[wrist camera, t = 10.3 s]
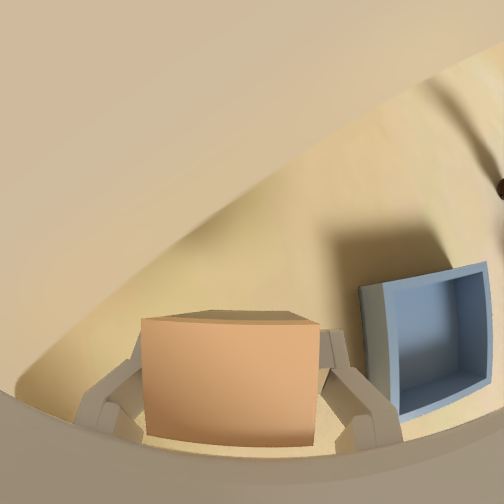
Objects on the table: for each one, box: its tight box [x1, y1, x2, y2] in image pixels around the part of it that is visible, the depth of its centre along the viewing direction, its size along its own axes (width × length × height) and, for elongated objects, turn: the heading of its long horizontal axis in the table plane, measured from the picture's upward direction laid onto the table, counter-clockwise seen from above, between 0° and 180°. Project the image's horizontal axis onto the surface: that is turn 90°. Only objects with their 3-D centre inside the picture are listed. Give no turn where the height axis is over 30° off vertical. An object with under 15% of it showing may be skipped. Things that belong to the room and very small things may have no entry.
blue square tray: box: [358, 261, 493, 423], centre depth 21 cm, size 12×12×6 cm
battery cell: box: [141, 310, 320, 447], centre depth 10 cm, size 3×4×9 cm
